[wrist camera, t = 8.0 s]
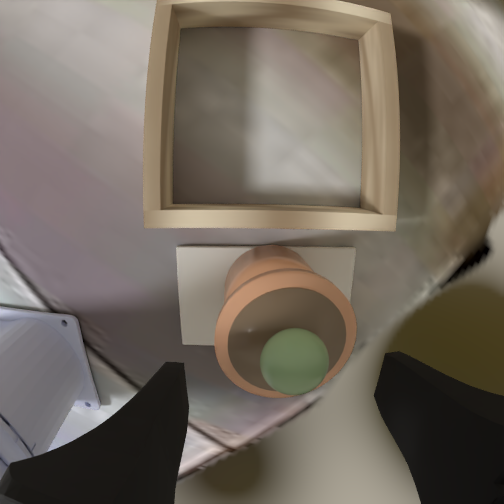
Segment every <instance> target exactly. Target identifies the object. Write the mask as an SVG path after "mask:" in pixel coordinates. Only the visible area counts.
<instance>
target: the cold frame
mask: <svg viewBox="0 0 504 504" xmlns="http://www.w3.org/2000/svg"><path fill="white" fill-rule="evenodd" d="M195 27H260V28H275V29H287V30H297V31H305V32H313V33H320V34H327V35H333V36H339V37H344V38H349V39H354V40H358V41H359V53H360V69H361V90H362V173H361V196H360V208H356V207H335V206H311V205H277V204H173V141H174V113H175V93H176V77H177V64H178V52H179V41H180V31H181V28H195ZM399 168H400V113H399V90H398V76H397V64H396V54H395V45H394V36H393V29H392V22H391V16H390V13H387V12H383V11H380V10H376V9H372V8H368V7H364V6H360V5H356V4H352V3H347V2H342V1H337V0H157V3H156V9H155V16H154V23H153V30H152V37H151V45H150V54H149V63H148V74H147V86H146V99H145V117H144V142H143V209H144V228H280V229H331V230H367V231H395V230H396V219H397V206H398V191H399Z"/></svg>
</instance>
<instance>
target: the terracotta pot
mask: <svg viewBox="0 0 504 504" xmlns="http://www.w3.org/2000/svg"><path fill="white" fill-rule="evenodd" d="M356 333H357V324H356V318H355V314H354V311H353V308H352V306H351V304H350V302H349V301H348V299H347V298H346V297H345V295H344V294H343V293H342V292H341V291H340V290H339V289H338V288H337V287H336V286H335V285H334V284H333V283H332V282H331V281H330V280H328V279H327V278H325V277H324V276H321V275H319V274H317V273H315V272H314V271H313V270H312V269H311V267H310V266H309V265H308V264H307V263H306V262H305V260H304V259H303V258H302V257H301V256H300V255H299V254H297V253H296V252H294V251H293V250H291V249H289V248H286V247H283V246H279V245H263V246H258V247H255V248H252V249H250V250H248V251H246V252H245V253H243V254H242V255H241V256H240V257H238V258H237V259H236V260H235V262H234V263H233V264H232V266H231V267H230V269H229V271H228V273H227V276H226V279H225V286H224V304H223V306H222V308H221V310H220V312H219V315H218V318H217V321H216V327H215V337H214V347H215V354H216V357H217V360H218V363H219V365H220V367H221V369H222V370H223V372H224V373H225V375H226V376H227V377H228V378H229V379H230V380H231V381H232V382H233V383H235V384H236V385H237V386H239V387H240V388H242V389H243V390H246V391H248V392H250V393H252V394H256V395H259V396H264V397H271V398H286V397H293V396H298V395H302V394H305V393H308V392H310V391H312V390H314V389H317V388H318V387H320V386H322V385H324V384H325V383H326V382H328V381H329V380H330V379H332V378H333V377H334V376H335V375H336V374H337V373H338V372H339V371H340V370H341V369H342V367H343V366H344V365H345V363H346V362H347V360H348V358H349V357H350V355H351V353H352V350H353V347H354V344H355V340H356Z"/></svg>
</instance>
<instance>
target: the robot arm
mask: <svg viewBox="0 0 504 504" xmlns="http://www.w3.org/2000/svg"><path fill="white" fill-rule="evenodd" d="M64 320H65V321H66V322H67V324H66V323H65V322H64ZM374 397H375V400H376V403H377V406H378V409H379V411H380V414H381V416H382V418H383V420H384V422H385V424H386V426H387V427H388V429H389V431H390V433H391V434H392V436H393V438H394V439H395V442H396V443H397V445H398V447H399V449H400V451H401V452H402V454H403V456H404V458H405V460H406V462H407V464H408V466H409V469H410V472H411V474H412V477H413V480H414V482H415V485H416V488H417V491H418V494H419V498H420V501H421V504H504V396H502V395H498V394H494V393H490V392H487V391H484V390H481V389H478V388H475V387H472V386H469V385H467V384H465V383H463V382H460V381H458V380H456V379H454V378H452V377H449V376H447V375H445V374H443V373H441V372H439V371H437V370H436V369H433V368H432V367H430V366H428V365H426V364H424V363H422V362H420V361H418V360H416V359H414V358H412V357H410V356H408V355H406V354H404V353H402V352H399V351H398V352H392V353H386V354H385V356H384V361H383V365H382V368H381V372H380V376H379V379H378V383H377V386H376V390H375V393H374ZM89 403H90V404H89ZM72 406H78V407H83V408H88V409H93V410H98V409H99V408H100V406H101V403H100V400H99V397H98V394H97V391H96V388H95V384H94V381H93V377H92V374H91V370H90V367H89V363H88V359H87V356H86V352H85V348H84V343H83V339H82V335H81V330H80V326H79V322H78V319H77V318H76V317H75V316H73V315H67V314H57V313H48V312H39V311H31V310H23V309H16V308H8V307H1V306H0V504H174V499H175V488H176V481H177V476H178V471H179V467H180V462H181V457H182V452H183V448H184V443H185V438H186V433H187V425H188V413H189V403H188V395H187V387H186V379H185V370H184V363H177V362H166V363H165V364H163V366H162V367H161V368H160V369H159V370H158V371H157V372H156V374H155V375H154V376H153V377H152V378H151V379H150V380H149V381H148V382H147V383H146V385H145V386H144V387H143V388H142V389H141V390H140V391H139V392H138V393H137V394H136V395H135V396H134V397H133V398H132V399H131V400H130V401H128V402H127V403H126V404H125V405H124V406H123V407H122V408H121V409H120V410H118V411H117V412H116V413H115V414H114V415H112V416H111V417H110V418H109V419H107V420H106V421H105V422H103V423H102V424H100V425H99V426H97V427H96V428H94V429H93V430H91V431H89V432H88V433H86V434H84V435H82V436H81V437H79V438H77V439H75V440H73V441H72V442H70V443H67V444H65V445H63V446H61V447H59V448H56V449H54V450H51V451H49V452H47V451H48V449H49V447H50V445H51V443H52V441H53V440H54V438H55V436H56V434H57V432H58V431H59V429H60V427H61V425H62V424H63V422H64V420H65V418H66V417H67V415H68V413H69V412H70V410H71V408H72Z"/></svg>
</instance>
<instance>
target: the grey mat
mask: <svg viewBox="0 0 504 504" xmlns="http://www.w3.org/2000/svg"><path fill="white" fill-rule="evenodd" d="M255 247H258V246H177V247H176V251H177V273H178V291H179V306H180V320H181V332H182V343H183V345H214V337H215V327H216V321H217V318H218V315H219V312H220V310H221V308H222V306H223V304H224V286H225V279H226V276H227V273H228V271H229V269H230V267H231V266H232V264H233V263H234V262H235V260H236V259H237V258H238V257H240V256H241V255H242V254H243V253H245V252H246V251H248V250H250V249H252V248H255ZM283 247H286V248H289V249H291V250H293V251H294V252H296V253H297V254H299V255H300V256H301V257H302V258H303V259H304V260H305V262H306V263H307V264H308V265H309V266H310V267H311V269H312V270H313V271H314V272H315V273H317V274H319V275H321V276H324V277H325V278H327V279H328V280H330V281H331V282H332V283H333V284H334V285H335V286H336V287H337V288H338V289H339V290H340V291H341V292H342V293H343V294H344V295H345V297H346V298H347V299H348V301H349V302H350V298H351V290H352V282H353V274H354V265H355V255H356V248H354V247H305V246H283Z"/></svg>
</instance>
